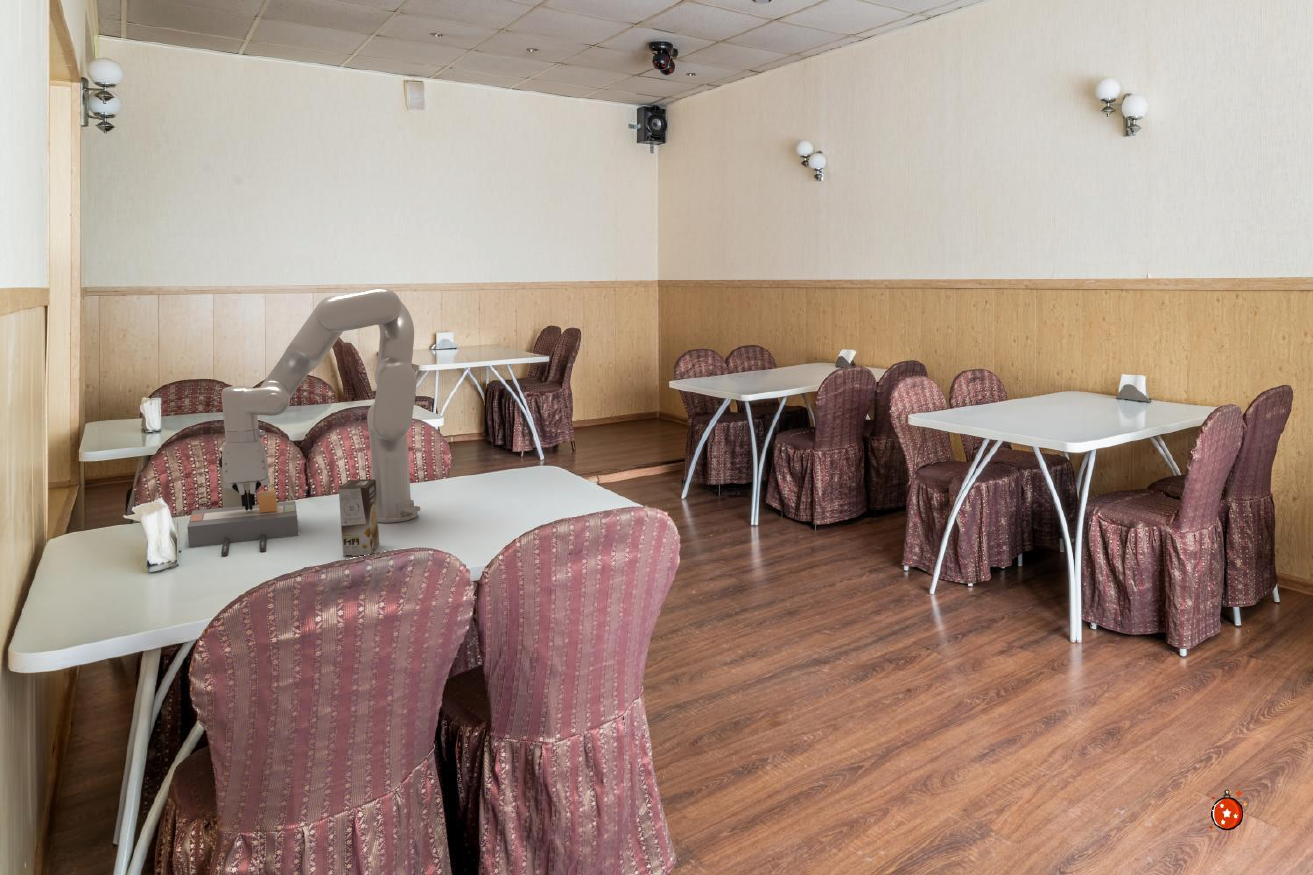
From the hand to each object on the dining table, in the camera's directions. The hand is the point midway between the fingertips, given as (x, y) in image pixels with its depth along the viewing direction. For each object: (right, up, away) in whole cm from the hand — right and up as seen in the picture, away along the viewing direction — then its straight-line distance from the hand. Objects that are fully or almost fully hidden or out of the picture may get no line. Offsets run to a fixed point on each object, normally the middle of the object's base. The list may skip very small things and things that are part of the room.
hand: (249, 508), depth 219 cm
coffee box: (+33, -9, -14) cm, 37 cm away
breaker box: (+1, -7, -5) cm, 8 cm away
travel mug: (-12, -3, +20) cm, 23 cm away
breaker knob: (+4, 0, +2) cm, 4 cm away
